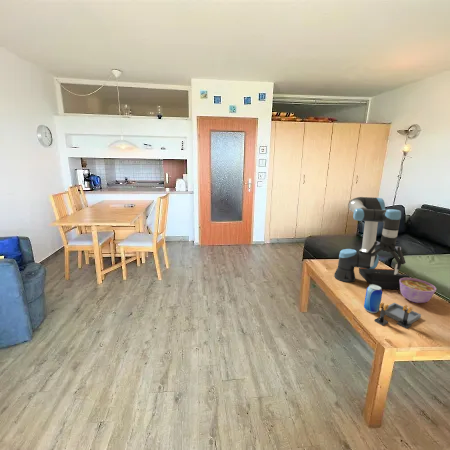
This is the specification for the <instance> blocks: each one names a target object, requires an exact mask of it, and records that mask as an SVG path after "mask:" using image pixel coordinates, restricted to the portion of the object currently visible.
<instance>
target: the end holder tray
mask: <svg viewBox="0 0 450 450" xmlns="http://www.w3.org/2000/svg"><path fill="white" fill-rule="evenodd" d="M388 305H389V306H388V309H387V310H385V315H384V316H387V317H389V318H390V319H392V320H395V321H396V322H399V321H402V322H403V317H404V313H405V311H403V306H404V305H401V304H398V303H396V302H392V303H391V304H388ZM408 308H409V307H407V310H408ZM421 317H422V314H421V313H418V312H417V311H415V310H412V312H410V313H409V315H408V320H407V324H413V323H415V322H417V321H418V320H420V319H421Z"/></svg>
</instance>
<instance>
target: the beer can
mask: <svg viewBox="0 0 450 450" xmlns="http://www.w3.org/2000/svg"><path fill="white" fill-rule="evenodd" d="M382 297H383V290H382V288H381V287H380V286H377V285H373V284H371V285H370V284H369V285H368V286H367V288H366V291H365V296H364V303H363V308H364V310H365V311H366V312H368V313H370V314H377V313H379V312H380V310H381V308H379V307H380V304H381V302H382Z"/></svg>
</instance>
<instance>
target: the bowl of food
mask: <svg viewBox="0 0 450 450" xmlns="http://www.w3.org/2000/svg"><path fill="white" fill-rule="evenodd" d="M399 282H400V289H399V290H400V294H401V295H402V296H403V297H404V298H405V299H407V300H408V301H409V302H412V303H415V304H421V303H428V302H430V300H431V299H432V297H433V296H434V294H435V292H436V291H437V287H436V286H435V285H434V284H432V283H430V282H428V281H425V280H424V279H423V280H422V279H419V278H416V277H410V278H401V279H400V280H399Z"/></svg>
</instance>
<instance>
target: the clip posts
mask: <svg viewBox="0 0 450 450" xmlns="http://www.w3.org/2000/svg"><path fill="white" fill-rule="evenodd" d="M389 305H390V304H385V302H382V303H380V307H379V308H380V315H379V317H377V318H375V319H374V322H375V323H377V324H379V325H381V326H385V325H388V324H389V321H388V320H386V319H385V316H386V315H385V310H387V309H388V306H389ZM402 306H403V311H405V313H404V317H403V322H402V321H399V322H398V321H396V322H397V323H396V324H397V325H399V327H400V326H401V327H402V328H404V329H406V330H407V329H409V328H410V327H412V324H413V323H412V324H407V320H408V315H409V313H410V312H412V311H413V307H412V306H411V307H408V305H407V304H405V305H402ZM407 308H408V310H407Z"/></svg>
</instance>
